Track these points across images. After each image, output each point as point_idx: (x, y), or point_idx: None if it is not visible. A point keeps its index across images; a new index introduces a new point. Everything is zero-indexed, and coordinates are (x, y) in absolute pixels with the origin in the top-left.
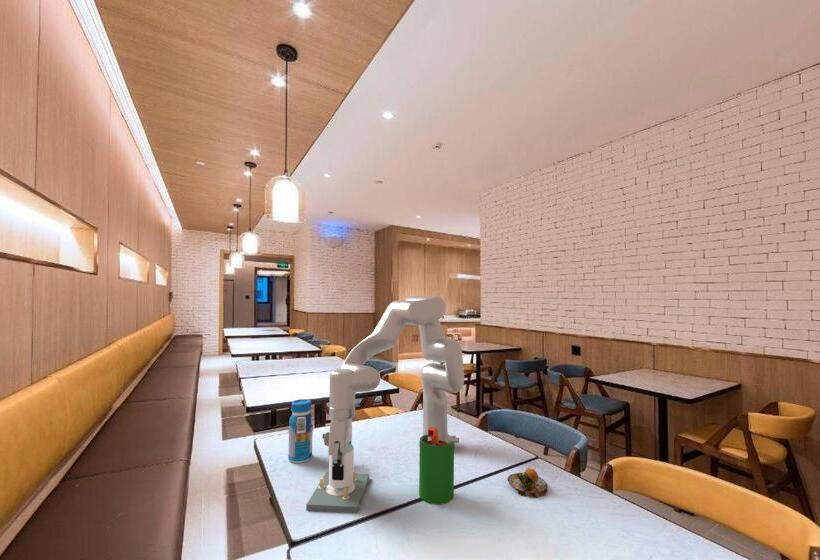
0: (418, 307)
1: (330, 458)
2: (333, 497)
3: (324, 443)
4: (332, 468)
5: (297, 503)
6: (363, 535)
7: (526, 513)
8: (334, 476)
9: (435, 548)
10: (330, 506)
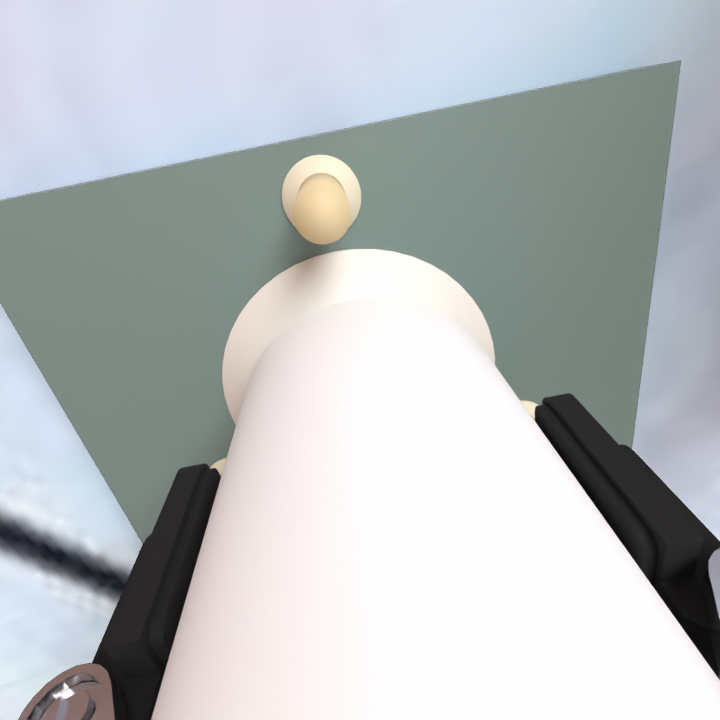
0: None
1: (188, 663)
2: (195, 396)
3: None
4: (131, 596)
5: (24, 21)
6: (13, 634)
7: None
8: (144, 545)
9: None
10: (79, 423)
